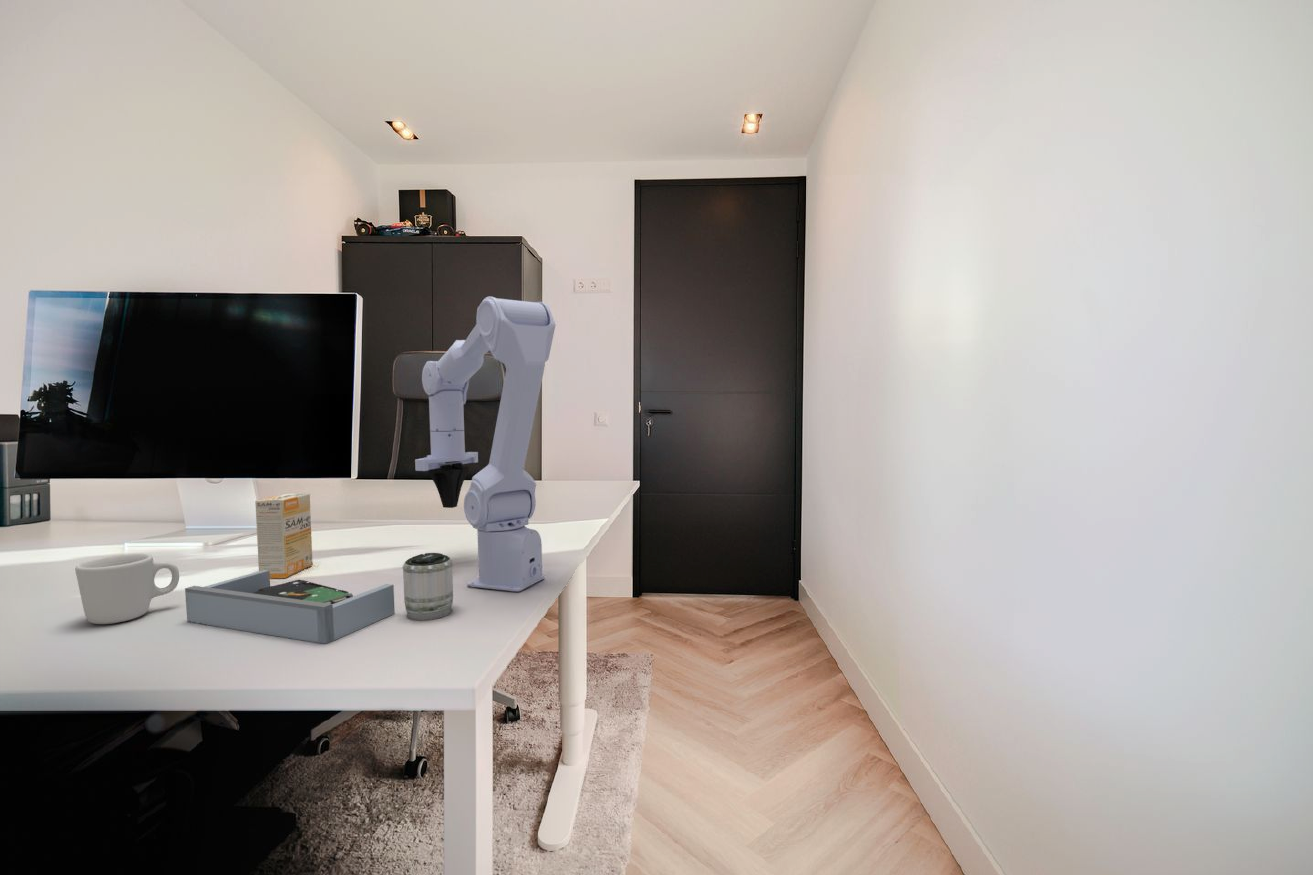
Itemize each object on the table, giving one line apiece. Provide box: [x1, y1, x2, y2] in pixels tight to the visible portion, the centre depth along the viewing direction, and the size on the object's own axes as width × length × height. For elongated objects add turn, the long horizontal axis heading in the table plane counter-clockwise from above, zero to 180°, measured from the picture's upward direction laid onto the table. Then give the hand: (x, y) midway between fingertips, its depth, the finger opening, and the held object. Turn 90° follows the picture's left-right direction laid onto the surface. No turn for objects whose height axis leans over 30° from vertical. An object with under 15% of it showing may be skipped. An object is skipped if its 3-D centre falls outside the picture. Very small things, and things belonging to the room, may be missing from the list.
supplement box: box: [254, 492, 313, 579], centre depth 108 cm, size 8×5×13 cm, turn 179°
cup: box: [74, 553, 180, 625], centre depth 87 cm, size 11×8×8 cm
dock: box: [184, 570, 396, 645], centre depth 85 cm, size 24×11×4 cm, turn 70°
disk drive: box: [253, 579, 354, 604], centre depth 88 cm, size 10×3×15 cm
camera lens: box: [402, 552, 454, 621], centre depth 86 cm, size 6×6×8 cm
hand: (450, 507), depth 112 cm, fingers closed
